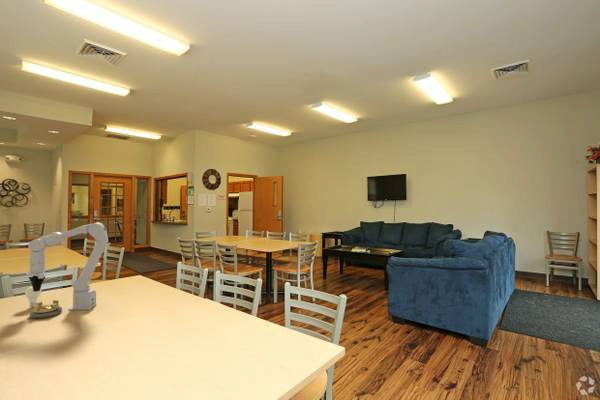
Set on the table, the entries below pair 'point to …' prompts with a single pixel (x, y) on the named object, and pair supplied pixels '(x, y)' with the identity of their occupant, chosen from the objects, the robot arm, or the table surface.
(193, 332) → the table surface
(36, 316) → the cap base
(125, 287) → the table surface
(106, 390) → the table surface
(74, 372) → the table surface
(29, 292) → the lightbulb
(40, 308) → the brass lugged disc
